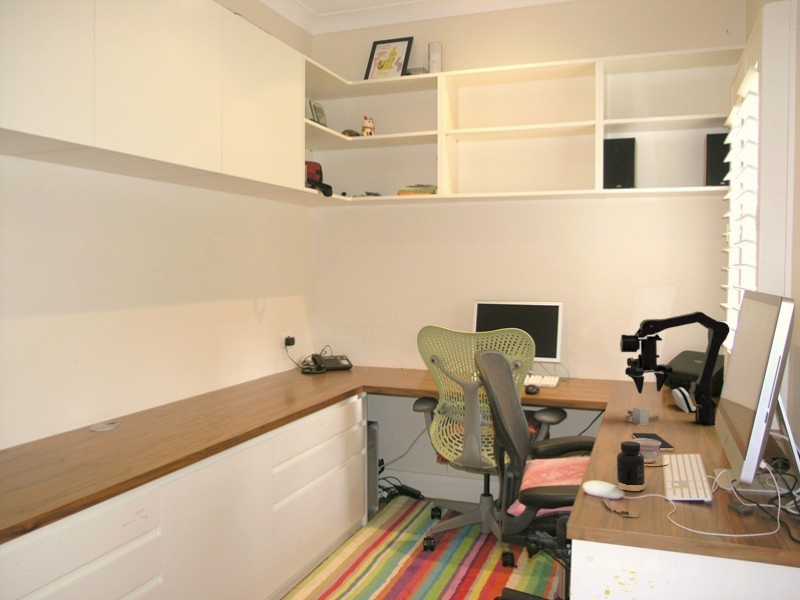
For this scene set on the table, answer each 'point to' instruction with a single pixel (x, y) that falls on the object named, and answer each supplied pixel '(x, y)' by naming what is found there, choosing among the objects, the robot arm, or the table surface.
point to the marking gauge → (639, 415)
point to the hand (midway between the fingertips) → (649, 392)
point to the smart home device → (654, 437)
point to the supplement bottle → (630, 464)
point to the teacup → (648, 447)
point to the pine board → (650, 417)
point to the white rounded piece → (683, 400)
